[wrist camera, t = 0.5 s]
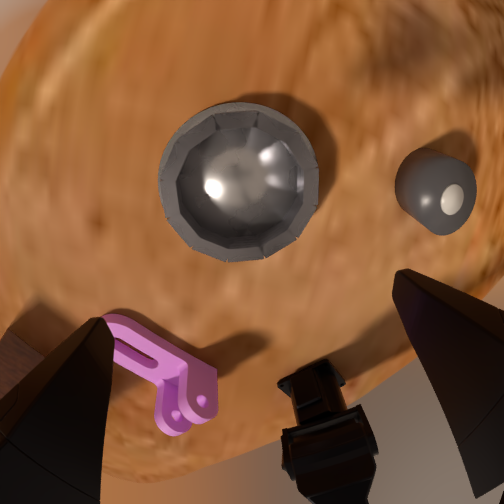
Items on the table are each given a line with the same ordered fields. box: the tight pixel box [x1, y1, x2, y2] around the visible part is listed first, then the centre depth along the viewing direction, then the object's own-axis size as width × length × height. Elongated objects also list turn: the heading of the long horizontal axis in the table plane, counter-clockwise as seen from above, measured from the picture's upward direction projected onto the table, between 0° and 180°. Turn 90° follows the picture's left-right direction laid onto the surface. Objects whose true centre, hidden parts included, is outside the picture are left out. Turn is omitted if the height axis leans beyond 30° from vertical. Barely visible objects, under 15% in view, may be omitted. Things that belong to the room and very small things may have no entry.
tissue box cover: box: [0, 329, 45, 399], centre depth 27 cm, size 26×14×10 cm, turn 133°
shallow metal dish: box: [158, 102, 319, 262], centre depth 19 cm, size 11×11×2 cm
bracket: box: [101, 314, 218, 436], centre depth 25 cm, size 13×6×7 cm, turn 44°
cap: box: [395, 148, 477, 235], centre depth 19 cm, size 6×6×4 cm
